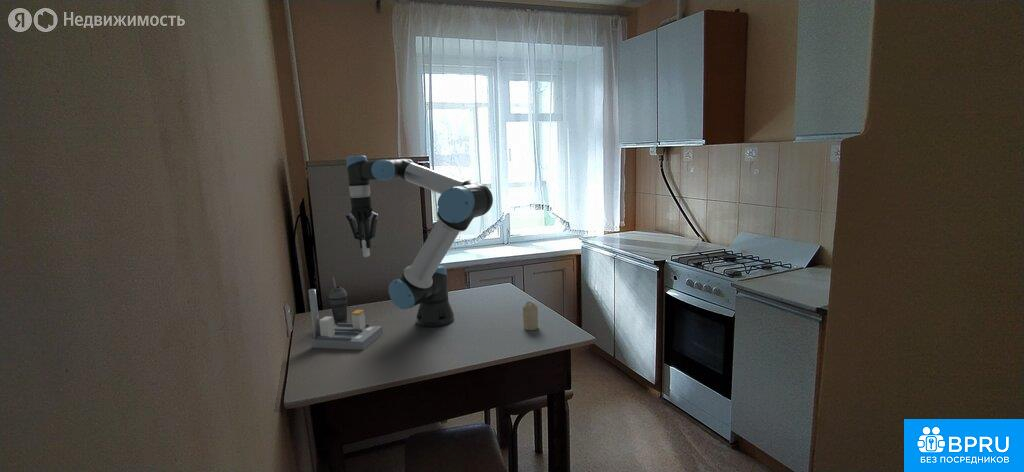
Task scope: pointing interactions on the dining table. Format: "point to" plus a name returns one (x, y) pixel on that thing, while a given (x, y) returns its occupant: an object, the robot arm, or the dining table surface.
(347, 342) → the panel
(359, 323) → the grey orange block
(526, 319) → the candle
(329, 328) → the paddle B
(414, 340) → the dining table surface
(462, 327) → the dining table surface
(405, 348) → the dining table surface
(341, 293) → the beverage cup
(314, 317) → the post
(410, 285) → the robot arm
